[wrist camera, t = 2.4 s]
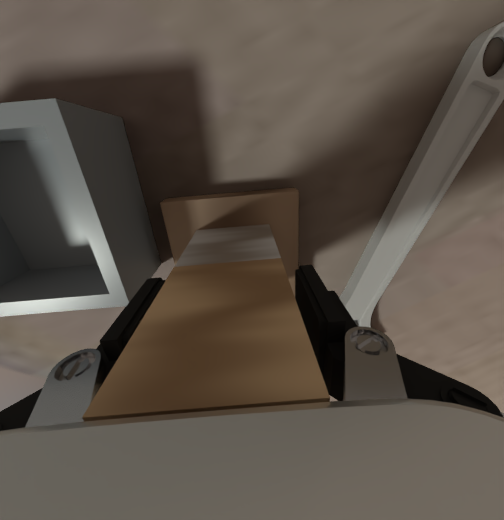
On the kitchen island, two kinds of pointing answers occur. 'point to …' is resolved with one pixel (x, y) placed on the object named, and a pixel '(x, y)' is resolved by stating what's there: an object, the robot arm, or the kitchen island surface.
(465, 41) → the kitchen island surface
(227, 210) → the stud plate
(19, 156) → the bin
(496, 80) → the adjustable wrench
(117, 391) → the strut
